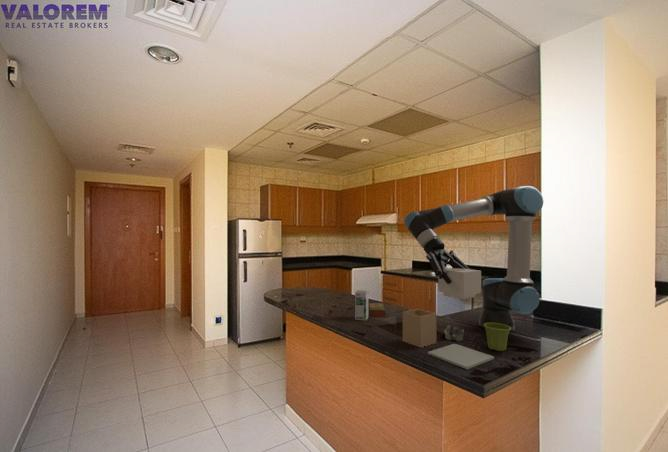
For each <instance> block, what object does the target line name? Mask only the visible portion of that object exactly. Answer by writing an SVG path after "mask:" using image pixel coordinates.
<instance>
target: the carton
mask: <svg viewBox="0 0 668 452" xmlns="http://www.w3.org/2000/svg"><path fill="white" fill-rule="evenodd" d="M368 315H369V317H370V318H386V308H385V307H384V304H383V303H379V302H378V303H377V302H374V303H373V302H368Z"/></svg>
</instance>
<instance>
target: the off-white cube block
mask: <svg viewBox="0 0 668 452" xmlns="http://www.w3.org/2000/svg"><path fill="white" fill-rule="evenodd" d="M446 272H447V273H449V274H450V275H451V277H452V278H453V279H454V280H455V282H456V283H457V284H458V286H459V287H460V289H459V290H458V291H457V292H456V293H454V292H453V291H452V289H451V288H450V287H449V285H448V284H447V283H446V282H445V280H444V279H443V278H442V279H440V278H439V276H438V278H437V281H438V283H437V289H438V292H440V293H443V296H444V297H447V298H453V299H460V300H466V299H472V298H476V296H477V295H479V294H482V270H480V269H479V270H477V269H472V268H470V269H461V268H453V267H451V268H446ZM447 273H446V274H447Z"/></svg>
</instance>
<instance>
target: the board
mask: <svg viewBox="0 0 668 452" xmlns="http://www.w3.org/2000/svg"><path fill="white" fill-rule="evenodd" d="M427 355H429V356H431V355H432V356H431V357H434V358H436V359H439V360H442V361H444V362H447V363H449V364H452V365H455V366H457V367H460V368H462V369H464V370H470V369H472V368H474V367H476V366H479V365H482V364H485V363H487V362H489V361H493V360H494V359H495V356H493V355H491V354H488V353H484V352H481V351H477V350H476V349H472V348H469V347H466V346H463V345H460V344H457V343H452V344H449V345H446V346H442V347H439V348H436V349H433V350H430V351H427Z"/></svg>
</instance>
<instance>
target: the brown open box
mask: <svg viewBox="0 0 668 452" xmlns="http://www.w3.org/2000/svg"><path fill="white" fill-rule="evenodd" d="M402 342H405V343H406V344H409V345H411V346H414V345H415V347H417V346H418V348H419V349H422V348H425V347H424V346H426V347H429V346H431V344H432V345H435V344H437V313H436V312H434V311H433V312H432V311H428V310H425V309H420V308H415V309H410V310H409V309H408V310H406V311H402ZM428 345H429V346H428ZM421 347H422V348H421Z"/></svg>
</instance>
